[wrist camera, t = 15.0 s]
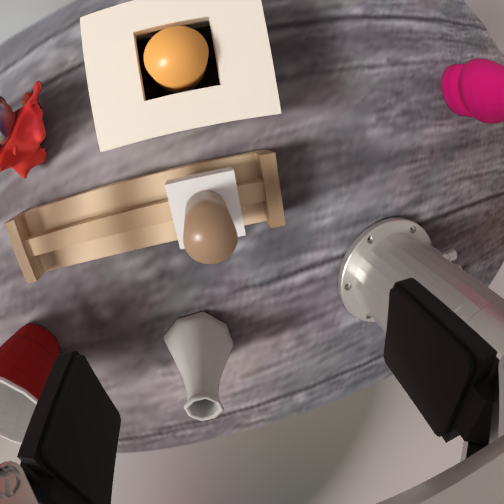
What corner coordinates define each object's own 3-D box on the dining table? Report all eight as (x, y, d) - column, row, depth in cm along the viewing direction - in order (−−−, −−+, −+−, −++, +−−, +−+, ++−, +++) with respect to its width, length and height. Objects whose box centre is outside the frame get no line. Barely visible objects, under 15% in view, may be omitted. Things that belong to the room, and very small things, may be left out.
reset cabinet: (241, 11, 22) (257, -19, 16) (260, 116, 26) (281, 113, 20) (105, 40, 21) (79, 17, 14) (122, 145, 25) (100, 152, 18)
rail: (265, 149, 27) (275, 152, 24) (275, 213, 30) (285, 225, 26) (21, 212, 25) (4, 223, 22) (41, 267, 27) (27, 283, 24)
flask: (151, 334, 32) (143, 404, 23) (204, 299, 32) (212, 366, 23) (193, 373, 35) (198, 441, 26) (244, 343, 35) (262, 410, 26)
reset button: (201, 39, 20) (203, 20, 16) (209, 86, 22) (213, 77, 17) (149, 50, 20) (139, 34, 15) (157, 97, 22) (148, 91, 17)
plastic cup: (76, 388, 34) (56, 463, 23) (4, 357, 30) (-30, 423, 19) (88, 326, 31) (57, 409, 20) (5, 290, 27) (-47, 356, 16)
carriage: (229, 164, 25) (247, 185, 17) (239, 221, 27) (261, 269, 19) (168, 177, 25) (154, 205, 16) (181, 234, 27) (177, 287, 18)
